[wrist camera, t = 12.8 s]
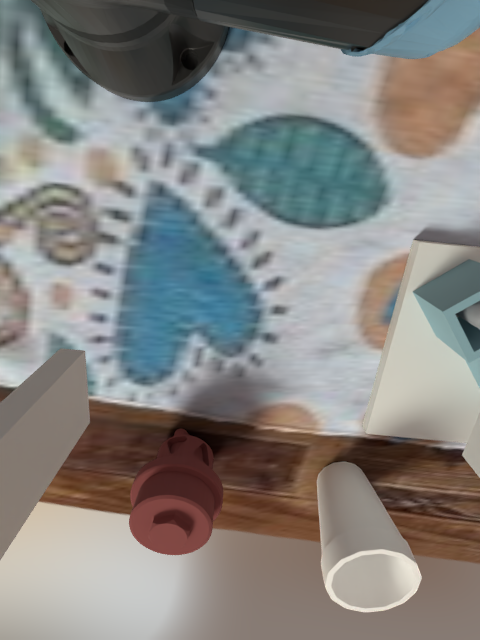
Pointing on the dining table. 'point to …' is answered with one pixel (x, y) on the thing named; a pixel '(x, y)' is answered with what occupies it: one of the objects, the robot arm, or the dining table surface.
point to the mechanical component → (176, 497)
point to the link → (454, 310)
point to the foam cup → (361, 544)
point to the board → (424, 360)
